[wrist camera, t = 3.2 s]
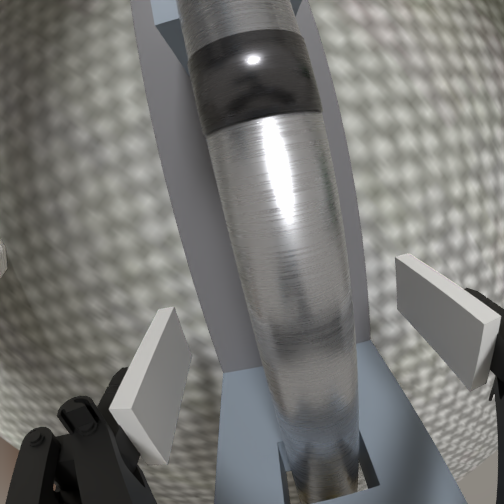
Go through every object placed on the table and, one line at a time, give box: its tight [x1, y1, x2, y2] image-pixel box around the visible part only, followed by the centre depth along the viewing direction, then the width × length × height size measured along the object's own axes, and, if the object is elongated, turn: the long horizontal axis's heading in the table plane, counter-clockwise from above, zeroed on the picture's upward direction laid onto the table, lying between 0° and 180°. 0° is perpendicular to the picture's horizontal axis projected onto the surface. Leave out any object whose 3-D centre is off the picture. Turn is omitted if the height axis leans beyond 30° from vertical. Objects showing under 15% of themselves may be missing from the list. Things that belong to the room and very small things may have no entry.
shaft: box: [176, 0, 359, 504], centre depth 10 cm, size 26×3×3 cm, turn 13°
